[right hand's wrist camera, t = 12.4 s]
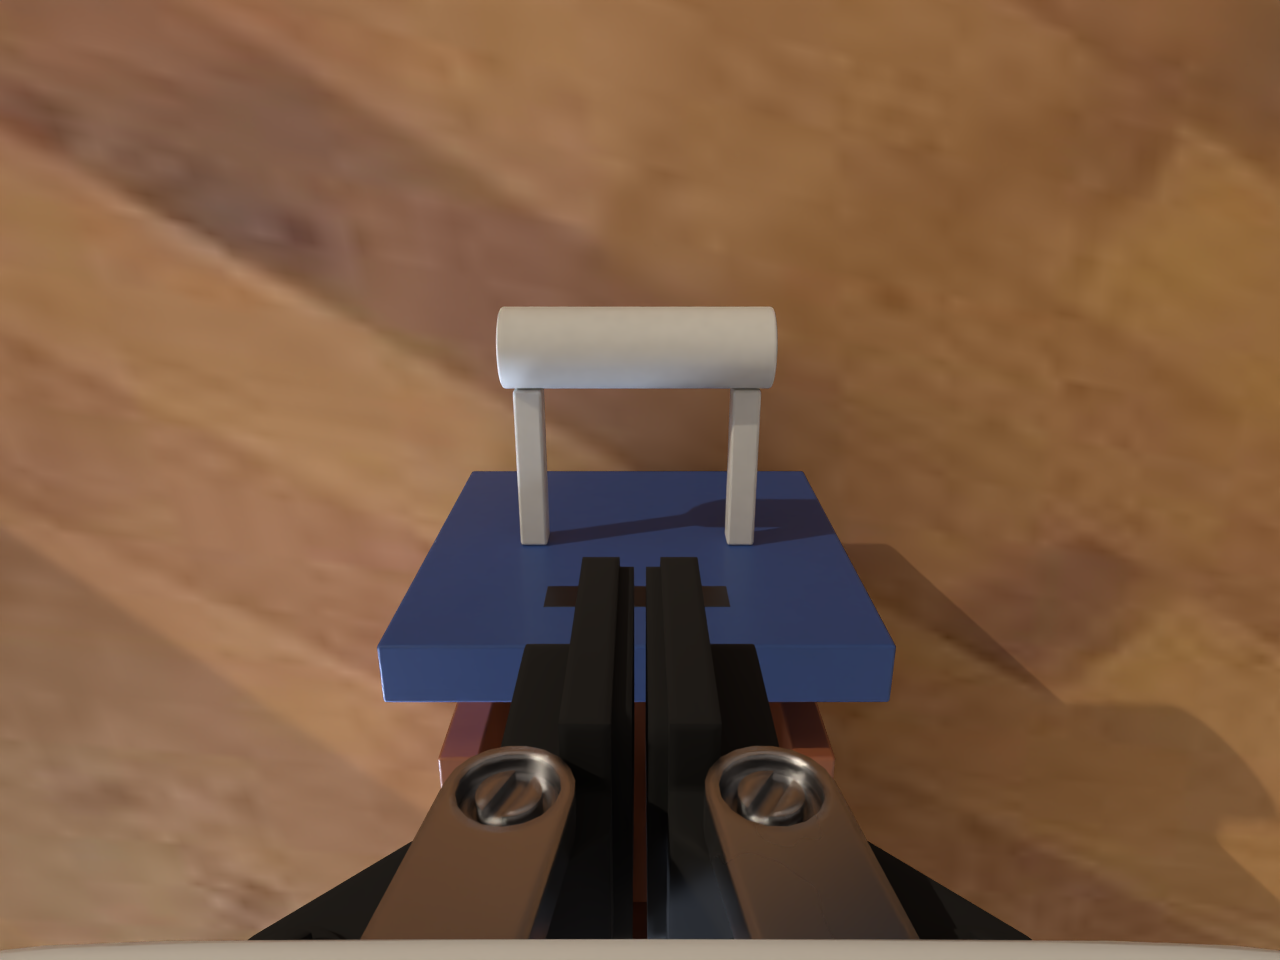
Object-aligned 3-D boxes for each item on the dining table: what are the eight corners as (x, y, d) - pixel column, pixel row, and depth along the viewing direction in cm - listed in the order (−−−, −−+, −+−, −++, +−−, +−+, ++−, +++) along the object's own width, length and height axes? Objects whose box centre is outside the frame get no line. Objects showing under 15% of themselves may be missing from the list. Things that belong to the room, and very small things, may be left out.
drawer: (458, 278, 22) (339, 352, 13) (816, 278, 22) (932, 352, 13) (502, 891, 29) (444, 1200, 20) (773, 891, 29) (830, 1200, 20)
